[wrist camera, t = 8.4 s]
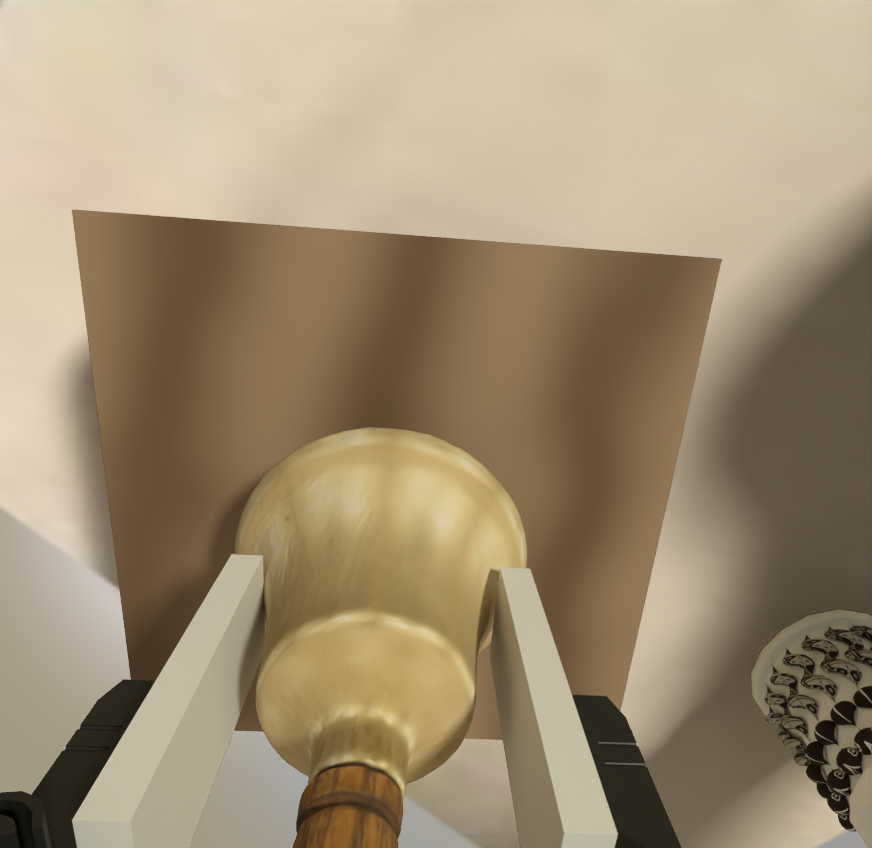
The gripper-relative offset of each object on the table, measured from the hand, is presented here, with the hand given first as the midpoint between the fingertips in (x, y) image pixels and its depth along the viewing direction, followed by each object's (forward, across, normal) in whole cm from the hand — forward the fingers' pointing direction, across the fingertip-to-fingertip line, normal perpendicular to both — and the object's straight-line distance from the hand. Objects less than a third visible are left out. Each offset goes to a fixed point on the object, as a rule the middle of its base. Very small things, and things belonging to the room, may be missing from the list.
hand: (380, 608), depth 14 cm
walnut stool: (+13, 0, 0) cm, 13 cm away
